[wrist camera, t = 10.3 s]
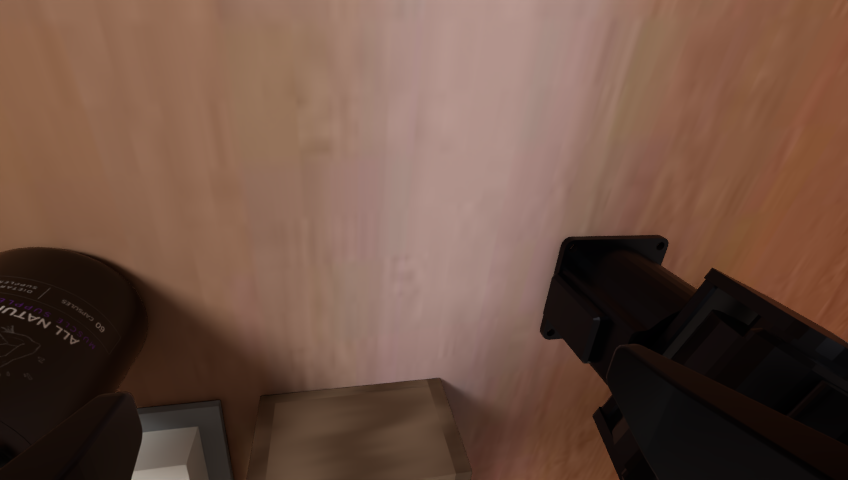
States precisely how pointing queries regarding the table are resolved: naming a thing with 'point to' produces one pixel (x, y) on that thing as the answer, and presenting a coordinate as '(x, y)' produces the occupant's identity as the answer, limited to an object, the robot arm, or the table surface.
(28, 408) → the supplement bottle
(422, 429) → the parts box
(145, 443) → the lid
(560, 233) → the table surface
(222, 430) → the mat
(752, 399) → the robot arm
